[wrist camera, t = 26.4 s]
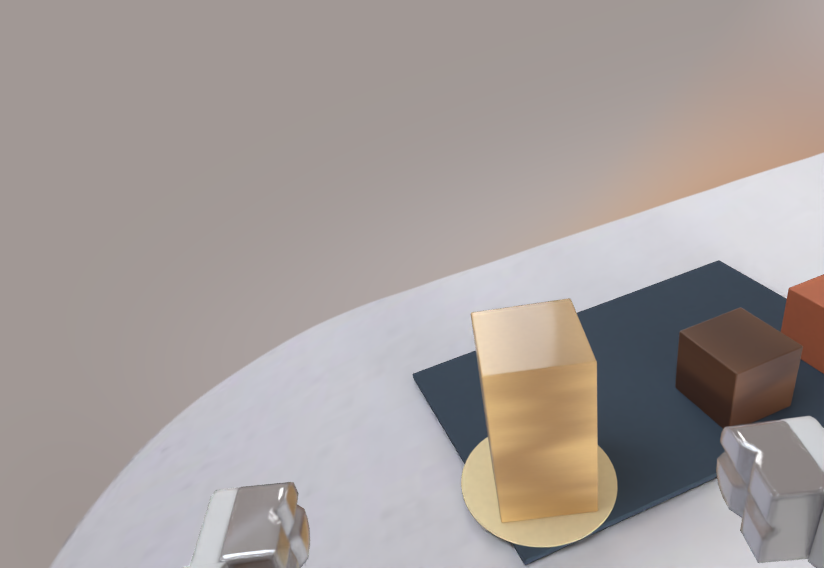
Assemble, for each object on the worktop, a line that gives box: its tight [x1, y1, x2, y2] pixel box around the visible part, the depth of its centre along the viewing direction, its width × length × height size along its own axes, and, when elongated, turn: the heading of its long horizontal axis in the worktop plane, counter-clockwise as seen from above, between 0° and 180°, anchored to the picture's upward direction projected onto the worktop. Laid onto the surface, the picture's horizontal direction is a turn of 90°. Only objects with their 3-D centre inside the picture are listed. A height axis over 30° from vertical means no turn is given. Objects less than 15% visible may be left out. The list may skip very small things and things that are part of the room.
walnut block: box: [675, 307, 803, 429], centre depth 36 cm, size 4×4×4 cm
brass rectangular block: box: [471, 299, 598, 523], centre depth 32 cm, size 5×5×10 cm
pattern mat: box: [413, 260, 824, 565], centre depth 40 cm, size 27×16×1 cm, turn 110°
